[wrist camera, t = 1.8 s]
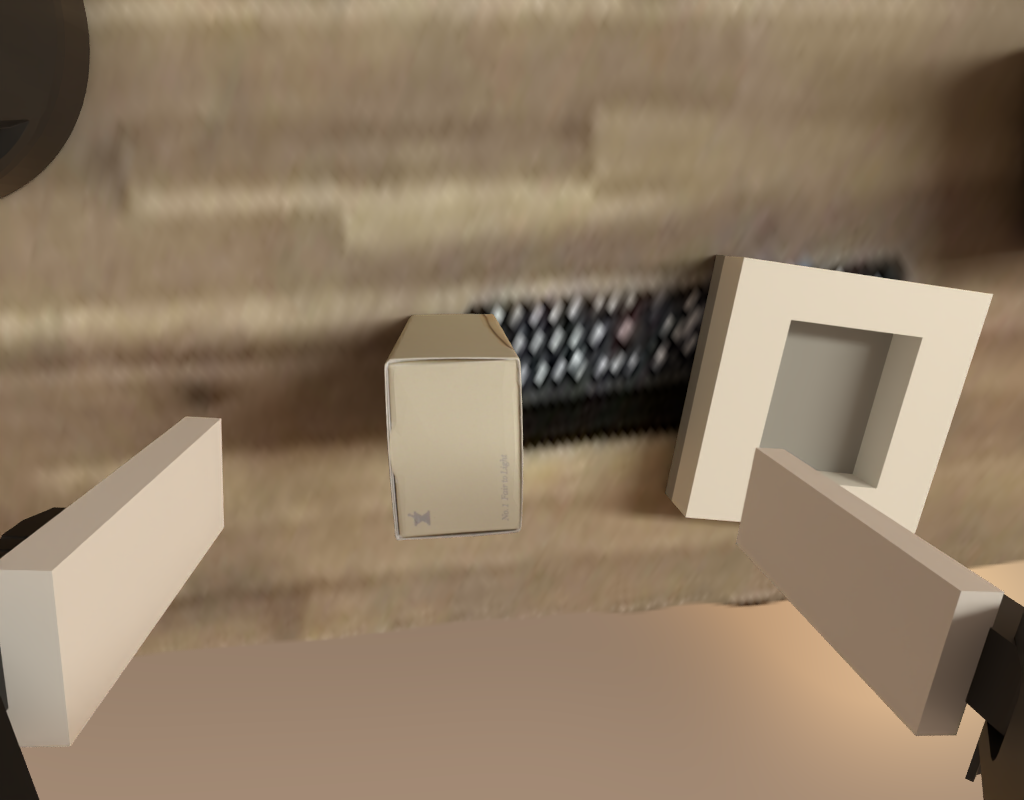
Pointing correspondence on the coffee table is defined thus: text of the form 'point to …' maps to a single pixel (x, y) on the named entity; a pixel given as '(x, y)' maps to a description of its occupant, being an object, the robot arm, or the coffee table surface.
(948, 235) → the coffee table surface
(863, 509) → the robot arm
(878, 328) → the socket block
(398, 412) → the skincare box
